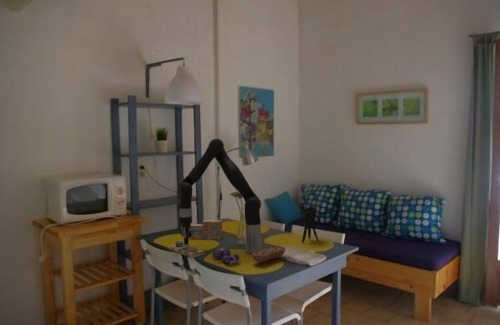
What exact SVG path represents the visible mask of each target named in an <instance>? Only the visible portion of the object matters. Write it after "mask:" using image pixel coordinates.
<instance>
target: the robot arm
mask: <svg viewBox="0 0 500 325" xmlns="http://www.w3.org/2000/svg"><path fill="white" fill-rule="evenodd" d="M214 159H215V160H216V161H217V163H218V164H219V166H220V167H221V170H222V172H223V173H224V175H225V177H226V179H227V180H228V182H229V183H230V184H231V186H233V188H234V189H236V191H237V192H238V193H239V194H240V195H241V197H242V199H243V200H244V220H245V252H246V253H248V254H252V253H253V252H255V251H258V250H261V249H263V236H262V232H261V231H262V230H261V229H262V228H261V222H262V221H261V207H262V201H261V199H260V198H259V197H258V196H257V194H256V193H255V191H254V190H253V189H252V188H251V187H250V184H249V182H248V181H247V179H246V178H245V176H244V174H243V173H242V171H241V169H240V168H239V167H238V165H237V164H236V163H235V162H234V161H233V160H232V159H231V158H230V157H229V155H228V154H227V151H226V149H225V145H224V142H223V141H222V140H221V139H220V138H213V139H211V140H210V142H209V143H208V146H207V148H206V150H205V151H204V153H203V155H202V156H201V158H200V159H199V160H198V161H197V163H195V165H194V166H193V167H192V169H191V170H190V171H189V173H188V174H187V176H185V177H184V178H183V179H182V181H181V182H180V183H179V185H178V191H179V192H180V199H179V214H178V215H179V224H180V226H179V227H178V229H179V232H180V235H181V237H183V244H188V243H190V241H189V240H190V237H191V235H192V233H193V230H192V229H191V224H193V209H192V198H193V197H192V196H193V186H194V184H196V183H197V182H198V181H199V180H200V179H201V178H202V176H203V175H204V174H205V172H206V171H207V168H208V167H209V165H210V164H211V162H212V161H213V160H214Z"/></svg>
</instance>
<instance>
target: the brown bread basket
mask: <svg viewBox="0 0 500 325" xmlns="http://www.w3.org/2000/svg"><path fill="white" fill-rule="evenodd" d="M285 252H286V247H284V246H281V245H280V246H279V245H276V246H275V245H274V246H268V247H264V248H262V249H261V250H258V251H255V252H253V253H251V255H252V259H253V260H254V261H255V262H256V263H265V262H267V261H269V260H270V261H271V260H272V259H275V258H280V257H282V256H283V255H284V254H285Z"/></svg>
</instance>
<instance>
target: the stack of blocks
mask: <svg viewBox="0 0 500 325" xmlns="http://www.w3.org/2000/svg"><path fill="white" fill-rule="evenodd" d="M222 222H223V220H222V219H204V220H203V221H202V223H191V229H192V230H193V233H192V235H191V237H189V240H221V239H222V238H223V223H222Z"/></svg>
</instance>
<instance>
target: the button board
mask: <svg viewBox="0 0 500 325" xmlns="http://www.w3.org/2000/svg"><path fill="white" fill-rule="evenodd" d="M169 250H170V251H173V252H175V253H178V254H180V255H183V256H185V257H188V258H190V257H189V256H191V257H193V258H196V257H201V256H204V255H205V251H204V250H203V249H199V248H198V251H197V252H190V249H183V246H181V247H176V244H174V245H171V246H169Z"/></svg>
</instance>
